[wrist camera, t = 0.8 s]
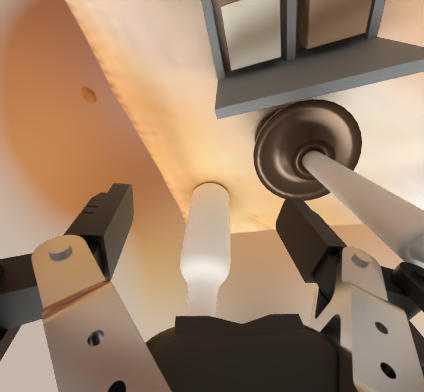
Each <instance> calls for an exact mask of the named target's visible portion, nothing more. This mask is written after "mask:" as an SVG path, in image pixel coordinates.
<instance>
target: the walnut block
mask: <svg viewBox="0 0 424 392" xmlns="http://www.w3.org/2000/svg"><path fill="white" fill-rule="evenodd" d="M371 3H372V0H298V18H297V44H299V45H301V46H303V47H305V48H307V49H309V48H313V47H316V46H320V45H323V44H327V43H331V42H334V41H338V40H341V39H345V38H348V37H352V36H355V35H359V34H362V33H365V32H366V27H367V23H368V18H369V13H370V8H371Z"/></svg>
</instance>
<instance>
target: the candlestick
mask: <svg viewBox="0 0 424 392" xmlns="http://www.w3.org/2000/svg"><path fill="white" fill-rule="evenodd" d="M361 147H362V138H361V132H360V129H359V126H358V123H357V122H356V120H355V119H354V117H353V116H352V114H351V113H349V112H348V111H347V110H346V109H345V108H344V107H342V106H340V105H338V104H336V103H334V102H330V101H326V100H313V99H311V100H305V101H299V102H296V103H293V104H290V105H288V106H286V107H284V108H283V109H281V110H278V111H275V112H272V113H271V114H269V115H268V116H266V117H265V118H264V119H263V120H262V122H261V123H260V124H259V126H258V128H257V131H256V134H255V146H254V154H253V156H254V166H255V169H256V172H257V175H258V177H259V179H260V181H261V182H262V184H263V185H264V186H265V187H266V188H267V189H268V190H269V191H271V192H272V193H273V194H275V195H277V196H279V197H281V198H284V199H287V198H294V199H302V200H303V201H306V200H312V199H316V198H320V197H322V196H324V195H327V194H329V193H332V194H333V195H334V196H335V197H337V198H338V199H339V200H340V201H341V202H342V203H343V204H344V205H345V206H346V207H347V208H348V209H349V210H350V211H351V212H352V213H354V214H355V215H356V216H357V217H358V218H359V219H360V220H361V221H362V222H363V223H364V224H365V225H366V226H367V227H368V228H370V229H371V230H372V231H373V232H374V233H375V234H376V235H377V236H378V237H379V238H380V239H381V240H382V241H383V242H384V243H385V244H387V245H388V246H389V247H390V248H391V249H392V250H393V251H394V252H395V253H396V254H397V255H398V256H399V257H400V258H401V259H402V260H403V261H405V262H409V263H412V264H415V265H418V266H420V267H422V268H424V211H423V210H421V209H420V208H418V207H416V206H414V205H413V204H411V203H409V202H407V201H405V200H404V199H402V198H400V197H398V196H396V195H395V194H393V193H391V192H389V191H388V190H386V189H384V188H382V187H380V186H379V185H377V184H375V183H373V182H372V181H370V180H368V179H366V178H364V177H363V176H361V175H359V174H357V173H355V172H354V171H353V170H354V169H355V167H356V165H357V163H358V160H359V157H360V154H361Z"/></svg>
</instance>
